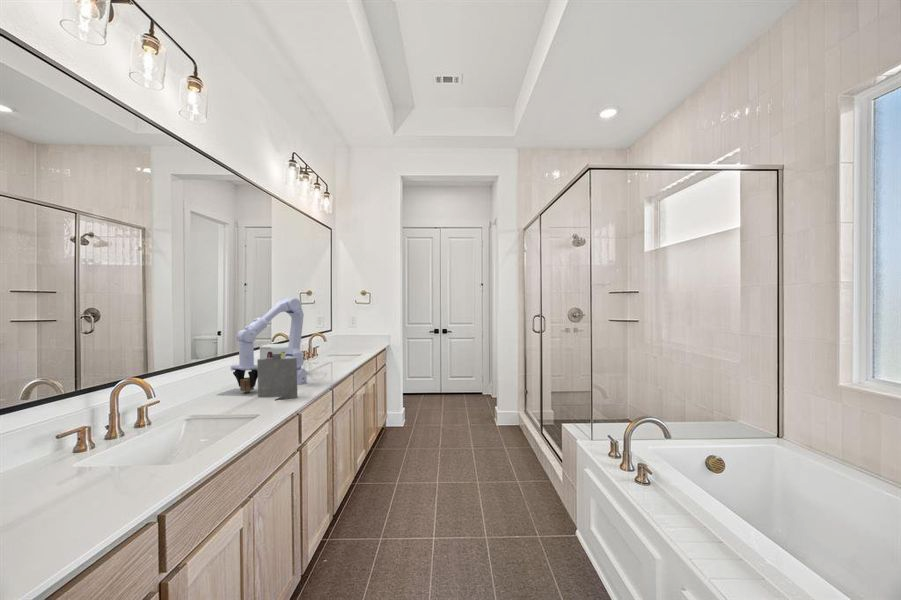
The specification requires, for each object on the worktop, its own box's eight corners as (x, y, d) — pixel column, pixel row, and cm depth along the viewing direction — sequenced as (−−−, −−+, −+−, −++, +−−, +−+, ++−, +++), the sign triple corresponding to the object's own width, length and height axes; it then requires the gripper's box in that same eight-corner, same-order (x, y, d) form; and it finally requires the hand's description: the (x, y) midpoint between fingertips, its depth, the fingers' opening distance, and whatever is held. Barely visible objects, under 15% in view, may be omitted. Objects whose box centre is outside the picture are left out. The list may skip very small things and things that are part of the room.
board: (269, 392, 171) (269, 389, 171) (251, 399, 159) (251, 396, 159) (234, 391, 174) (234, 388, 174) (214, 398, 162) (214, 395, 162)
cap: (256, 388, 167) (256, 377, 167) (248, 391, 162) (248, 379, 162) (245, 388, 168) (245, 377, 168) (237, 390, 163) (237, 379, 163)
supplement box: (259, 379, 201) (258, 346, 201) (268, 374, 214) (268, 343, 214) (291, 378, 203) (291, 345, 203) (299, 373, 216) (299, 343, 216)
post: (251, 392, 166) (251, 384, 166) (247, 393, 164) (247, 385, 164) (246, 392, 167) (246, 384, 167) (242, 393, 164) (242, 385, 164)
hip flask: (298, 396, 163) (297, 351, 163) (295, 399, 159) (295, 353, 159) (259, 399, 160) (258, 353, 160) (256, 401, 156) (255, 354, 156)
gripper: (225, 357, 162) (225, 388, 162) (255, 357, 160) (255, 388, 160) (237, 355, 169) (237, 384, 169) (265, 355, 167) (266, 385, 167)
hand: (247, 386), depth 165 cm, fingers closed on cap, 5 cm apart
